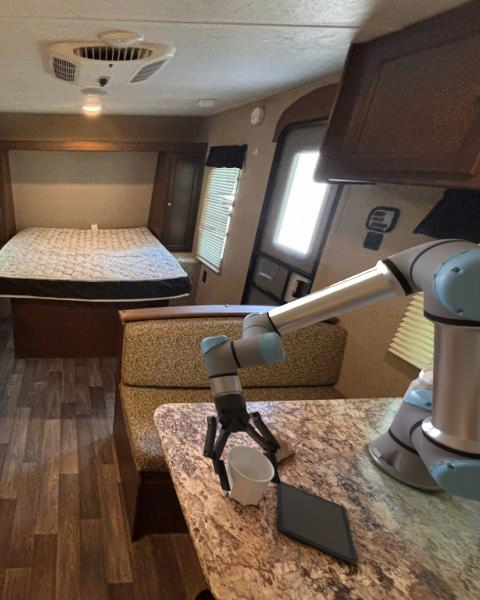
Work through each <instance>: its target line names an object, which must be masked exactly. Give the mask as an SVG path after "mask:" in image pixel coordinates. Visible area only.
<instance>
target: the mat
mask: <svg viewBox="0 0 480 600" xmlns="http://www.w3.org/2000/svg"><path fill="white" fill-rule="evenodd" d="M276 488H277V489H276V495H277V499H276V501H277V531H278V532H279V533H281V534H283V535H286V536H288V537H290V538H293V539H295V540H297V541H299V542H301V543H303V544H305V545H308V546H309V547H311V548H313V549H316V550H318V551H321V552H322V553H325V554H327V555H328V556H331V557H333V558H336V559H338V560H339V561H341V562H344V563H346V564H349V565H350V566H353V567H355V568H358V561H357V558H356V553H355V548H354V543H353V539H352V535H351V529H350V526H349V522H348V516H347V513H346V508H345V506H344V505H341V504H338V503H336V502H333V501H331V500H328V499H326V498H324V497H321V496H318V495H316V494H313V493H311V492H309V491H306V490H305V489H301V488H299V487H296V486H293V485H290V484H288V483H286V482H283V481H281V484H277V483H276Z"/></svg>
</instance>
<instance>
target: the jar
mask: <svg viewBox="0 0 480 600" xmlns="http://www.w3.org/2000/svg"><path fill="white" fill-rule="evenodd" d="M414 390H424V391H430V392H433V368H432V369H431V368H423V369H422V370H421V371H420V372H419V374H418V376H417V378H416V379H414V380H412V381H411V382H410V384H409V386H408V388H407V390H406V392H405V394H404V396H403V397H402V399H401V402H399V405H398V407H397V408H396V410H395V412H396V413H397V412H398V410H399V408H400V406H401V404H402V402H403V399H404V398H405V397H406V396H407V394H408V393H409V392H411V391H414Z"/></svg>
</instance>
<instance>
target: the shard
mask: <svg viewBox="0 0 480 600" xmlns="http://www.w3.org/2000/svg"><path fill="white" fill-rule="evenodd" d="M272 434H273V436H274V437H275V439H276V440H277V441H278V443H279V444H280V446H281V449H278V452H277V453H275V455H276V459H277V462H278V463H279V462H280V461H282V460H284V459H286V458H287V457H289V456H291V455H292V454H294V453H295V452H296V449H295V448H294V447H293V446H292V445H291V444H290V443H289V442H287V441H286V440H285V439H283V437H280V436H279V435H278V434H276V433H272Z"/></svg>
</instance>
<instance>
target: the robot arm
mask: <svg viewBox="0 0 480 600" xmlns="http://www.w3.org/2000/svg"><path fill="white" fill-rule="evenodd" d="M417 293H423V294H422V295H423V318H424V319H426V321H429V322H430V323H432V324H433V353H432V354H433V355H432V357H433V358H432V360H433V362H432V370H433V392H430V391H424V390H414V391H411V392H409V393H408V394H407V396H406V397H405V398H404V399H403V398H402V399H403V402H402V404H401V406H400V408H399V410H398V412H396V414H395V416H394V418H393V420H392V422H391V424H390V426H389V428H388V429H387V430H386V431H384V432H383V433H382V434H380V435H379V436H378V437H376V438H375V439H373V440H372V441H371V442H370V443H369V446H368V448H367V453H368V455H369V457H370V459H371V461H373V463H374V464H375V465H376V466H377V467H378V468H379V469H380V470H381V471H382V472H384V473H385V474H387V475H388V476H390V477H391V478H393V479H395V480H397V481H398V482H401V483H402V484H404V485H406V486H409V487H412V488H415V489H417V490H421V491H425V492H439V491H441V490H444V491H446V492H447V493H449V494H451V495H453V496H455V497H458V498H461V499H465V500H469V501H474V502H480V244H478V243H477V242H473V241H470V240H467V239H459V238H444V239H438V240H432V241H429V242H425V243H421V244H419V245H415V246H413V247H410V248H407V249H405V250H402V251H400V252H398V253H395V254H392V255H391V256H388V257H386V258H383V259H381V260H378V261H377V263H376V266H375V267H373V268H370V269H368V270H366V271H363V272H361V273H358V274H356V275H353V276H351V277H349V278H346V279H344V280H341V281H338V282H337V283H334V284H332V285H329V286H327V287H324V288H322V289H319V290H316V291H314V292H312V293H310V294H307V295H305V296H303V297H300V298H297V299H295V300H293V301H290V302H288V303H285V304H283V305H279V306H278V307H276V308H273V309H270V310H268V311H266V312H251V313H249V314H247V315H246V316H245V317H244V319H243V322H242V325H241V331H242V334H241V338H239V339H235V340H229V338H228V336H226V335H223V334H222V335H214V336H213V335H211V336H209V337H206V338H203V339H202V340H201V342H200V348H201V352H202V358H203V363H204V366H205V370H206V373H207V378H208V383H209V386H210V390H211V394H212V395H214V397H213V399H212V400H213V404H214V407H215V411H216V412H217V416H215V415H211V416H207V417H206V423H207V426H206V427H207V428H206V433H205V439H204V446H203V451H202V453H203V454H202V456H203V458H207V459H210V460H211V461H212V467H213V471H214V474H215V475H217V476H218V477H219V478H218V479H219V484H220V487H221V490H223V491H225V492H228V491H231V489H230V484H229V480H228V476H227V472H226V463H225V460H224V459H221V458H222V455H223V452H224V451H225V447H226V445H227V443H228V439H229V437H230V436H231V435H232V434H237V433H246V434H247V435H248V437H250V438H251V439H252V440H253V441H254V442H255V443H256V444H257V445H258V446H259V447H260V448H261V449H262V450H263V451H264V452H262V454H264V455H265V456H266V457H267V458H268V459H269V461H270V462H271V463H272V465H273V468H274V476H273V478H272V480H271V481H270V483H273V484H276V485H277V484H281V482H282V481H281V478H280V475H279V471H278V468H279V462H277V459H276V455H275V453H277V452H278V449H281V446H280V444H279V443H278V441H277V440H276V439H275V437H274V436H273V434H274V433H272V432H271V430H270V428H269V427H268V425H266V423H265V422H264V420H263V419H262V416H261V413H260V411H258V410H257V411H256V410H255V411H250V412H248V409H247V407H248V405H247V402H246V397H245V395H244V394H243V393H241V392H243V386H242V383H241V380H240V376H239V373H238V370H240V369H246V368H254V367H261V366H266V365H268V366H269V365H273V364H276V363H280V362H284V361H285V360H286V359H287V353H286V351H285V348H284V344H283V342H282V340H281V336H283V335H286V334H289V333H291V332H296V331H298V330H300V329H303V328H307V327H310V326H312V325H315V324H317V323H321V322H323V321H326V320H329V319H331V318H334V317H337V316H339V315H343V314H345V313H348V312H352V311H354V310H357V309H360V308H362V307H365V306H368V305H370V304H373V303H376V302H379V301H382V300H385V299H388V298H391V297H393V296H396V297H402V298H404V297H408V296H410V295H413V294H417ZM250 421H251V422H252V423H253V425H252V424H251V422H250ZM219 424H220V425H221V426H220V428H219V431H218V432H219V433H218V436H217V430H218V425H219ZM256 429H257V430H256ZM216 437H217V438H216Z"/></svg>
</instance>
